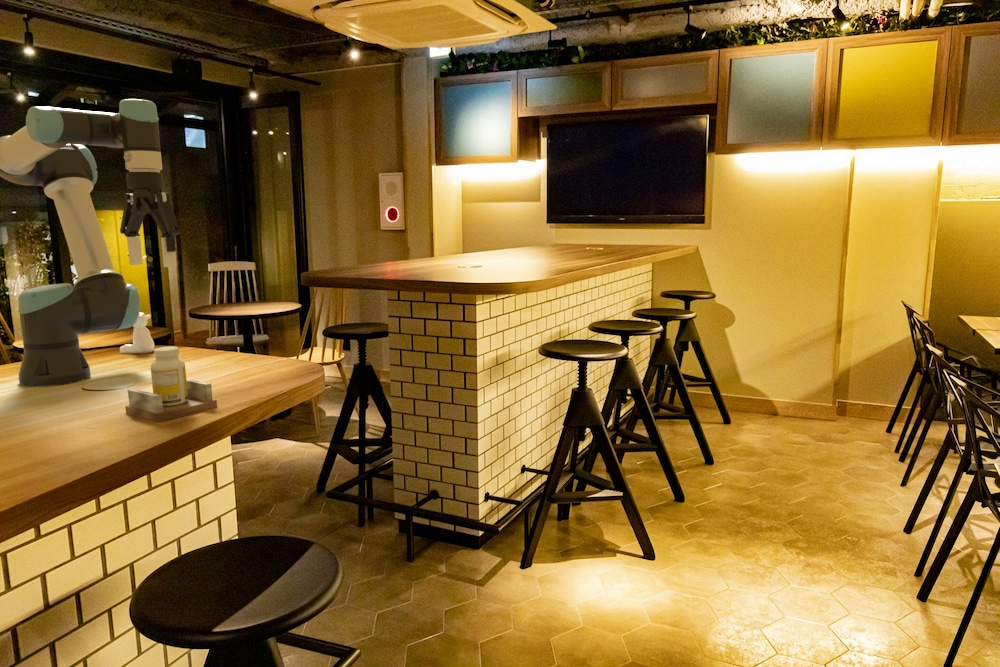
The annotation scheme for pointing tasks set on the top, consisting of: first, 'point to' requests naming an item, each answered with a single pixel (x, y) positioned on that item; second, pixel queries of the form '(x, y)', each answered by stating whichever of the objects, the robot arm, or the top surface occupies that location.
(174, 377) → the pill bottle
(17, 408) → the top surface
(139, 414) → the slot cradle
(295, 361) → the top surface
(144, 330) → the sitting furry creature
